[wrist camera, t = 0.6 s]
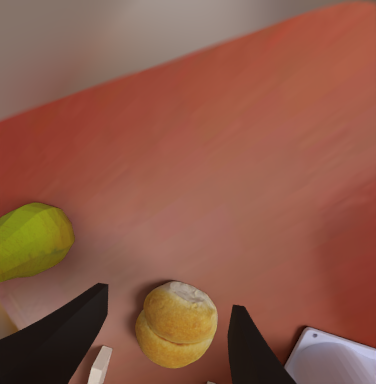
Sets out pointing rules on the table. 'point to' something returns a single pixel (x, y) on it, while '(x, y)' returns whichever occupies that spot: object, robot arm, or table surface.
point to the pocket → (103, 367)
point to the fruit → (33, 240)
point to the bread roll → (176, 324)
